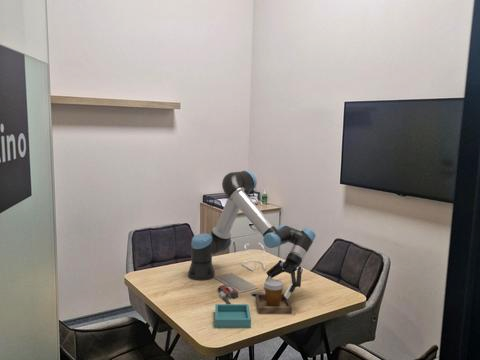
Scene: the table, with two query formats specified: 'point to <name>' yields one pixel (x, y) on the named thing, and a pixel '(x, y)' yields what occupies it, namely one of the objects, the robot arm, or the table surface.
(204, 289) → the table surface
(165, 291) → the table surface
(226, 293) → the walkie-talkie
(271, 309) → the walnut cup stand
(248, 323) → the teal tray
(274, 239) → the robot arm
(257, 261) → the earphone
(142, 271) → the table surface
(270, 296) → the disposable coffee cup
